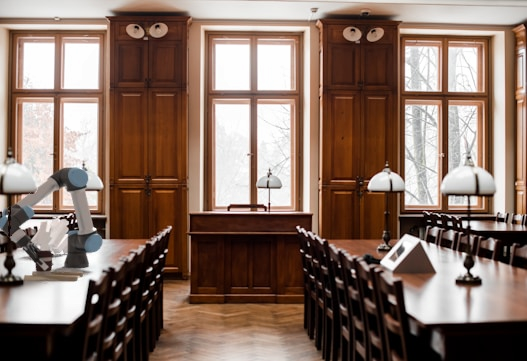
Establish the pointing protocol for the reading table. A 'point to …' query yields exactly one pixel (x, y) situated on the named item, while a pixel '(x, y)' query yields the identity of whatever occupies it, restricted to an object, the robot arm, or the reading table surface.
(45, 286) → the reading table surface
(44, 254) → the coffee cup
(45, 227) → the white jagged sculpture
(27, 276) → the beech guide rails
